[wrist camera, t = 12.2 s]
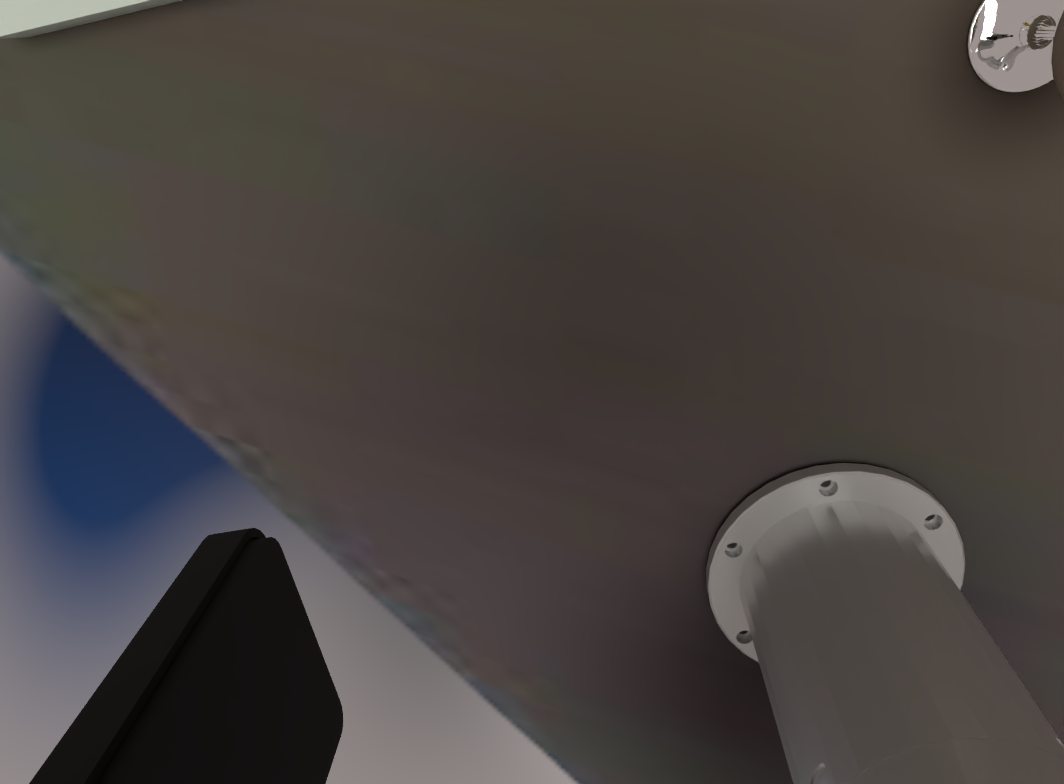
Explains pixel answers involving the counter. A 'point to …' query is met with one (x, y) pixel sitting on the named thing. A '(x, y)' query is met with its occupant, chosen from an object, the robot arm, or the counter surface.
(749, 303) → the counter surface
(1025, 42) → the wineglass
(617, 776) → the counter surface
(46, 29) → the tray
